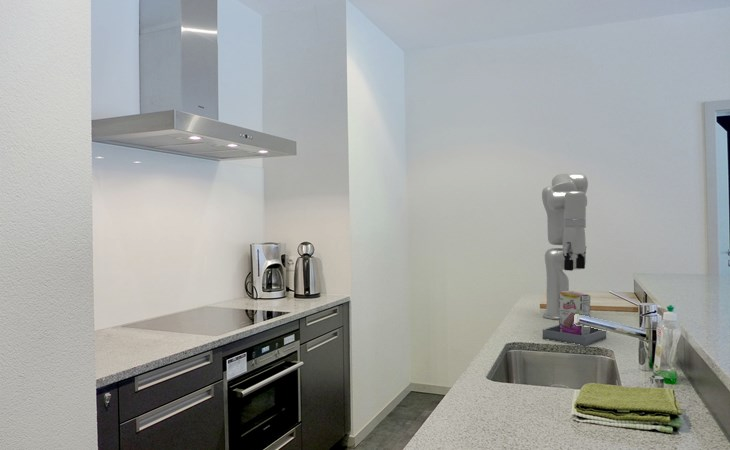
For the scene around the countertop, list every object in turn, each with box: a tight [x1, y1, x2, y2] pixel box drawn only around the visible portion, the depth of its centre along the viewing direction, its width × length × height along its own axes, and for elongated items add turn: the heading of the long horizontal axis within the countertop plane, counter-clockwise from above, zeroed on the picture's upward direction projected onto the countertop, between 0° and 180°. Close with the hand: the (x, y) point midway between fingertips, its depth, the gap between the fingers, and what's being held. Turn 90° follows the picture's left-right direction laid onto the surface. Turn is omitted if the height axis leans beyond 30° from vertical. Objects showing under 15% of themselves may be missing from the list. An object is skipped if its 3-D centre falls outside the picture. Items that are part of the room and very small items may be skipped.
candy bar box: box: [558, 290, 591, 336], centre depth 208 cm, size 11×5×16 cm, turn 26°
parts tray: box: [542, 324, 607, 347], centre depth 208 cm, size 18×16×4 cm
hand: (574, 269), depth 208 cm, fingers open, 9 cm apart
